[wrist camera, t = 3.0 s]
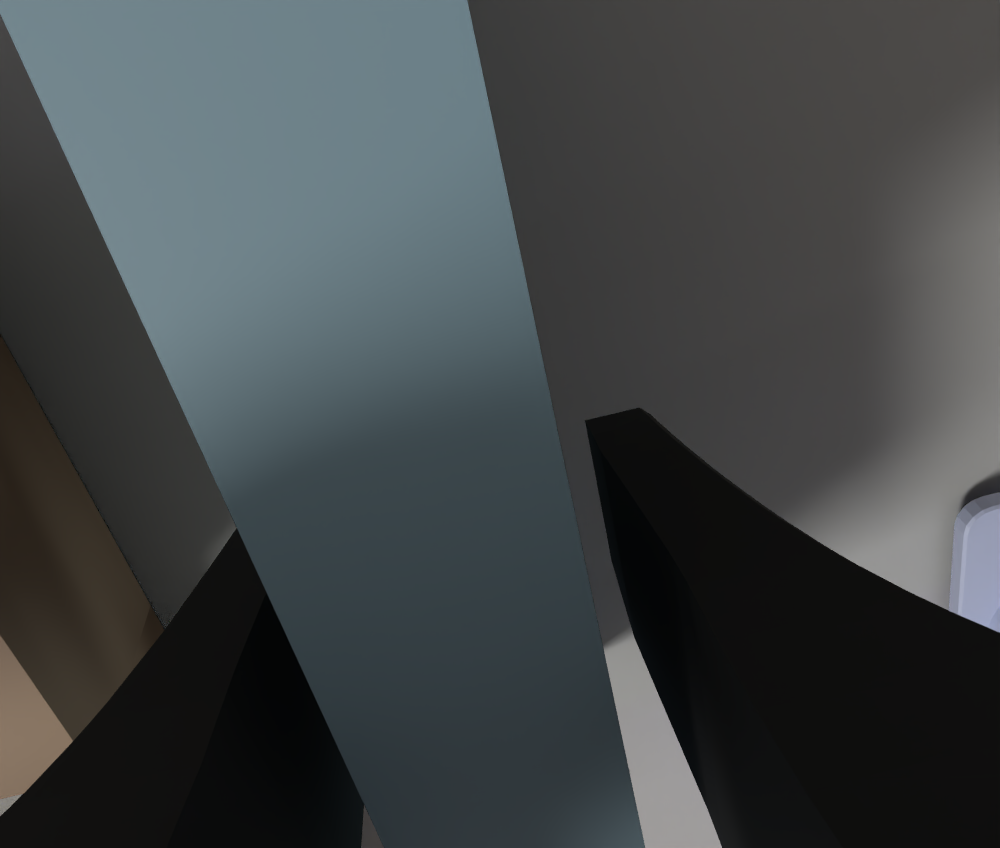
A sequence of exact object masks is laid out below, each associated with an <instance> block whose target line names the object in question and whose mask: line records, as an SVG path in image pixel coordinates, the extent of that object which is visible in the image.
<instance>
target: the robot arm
mask: <svg viewBox="0 0 1000 848" xmlns="http://www.w3.org/2000/svg"><path fill="white" fill-rule="evenodd" d="M585 422H586V428H587V433H588V438H589V443H590V449H591V454H592V459H593V464H594V470H595V475H596V480H597V486H598V491H599V496H600V501H601V507H602V512H603V517H604V522H605V528H606V533H607V538H608V544H609V549H610V554H611V559H612V563H613V567H614V570H615V574H616V577H617V580H618V584H619V587H620V591H621V594H622V597H623V601H624V604H625V607H626V611H627V614H628V617H629V621H630V624H631V627H632V631H633V634H634V637H635V640H636V642H637V645H638V647H639V649H640V652H641V654H642V656H643V659H644V661H645V664H646V666H647V668H648V671H649V673H650V675H651V678H652V680H653V682H654V685H655V687H656V690H657V692H658V694H659V697H660V699H661V701H662V704H663V706H664V708H665V711H666V713H667V715H668V718H669V720H670V722H671V725H672V727H673V729H674V732H675V734H676V736H677V739H678V741H679V743H680V746H681V748H682V750H683V753H684V755H685V757H686V760H687V762H688V764H689V767H690V769H691V771H692V774H693V776H694V778H695V781H696V783H697V785H698V788H699V790H700V792H701V795H702V797H703V799H704V802H705V804H706V806H707V809H708V811H709V814H710V816H711V819H712V822H713V824H714V827H715V830H716V832H717V835H718V838H719V840H720V843H721V845H722V848H1000V492H998V493H994V494H990V495H985V496H982V497H979V498H977V499H974V500H972V501H971V502H969V503H968V504H967V505H965V506H964V507H963V508H962V510H961V511H960V512H959V514H958V515H957V518H956V521H955V525H954V540H953V555H952V571H951V586H950V601H949V611H948V610H946V609H944V608H942V607H940V606H938V605H935V604H933V603H931V602H929V601H927V600H925V599H923V598H920V597H918V596H916V595H914V594H912V593H910V592H908V591H906V590H904V589H902V588H900V587H898V586H897V585H895V584H893V583H891V582H889V581H887V580H885V579H883V578H881V577H879V576H877V575H876V574H874V573H872V572H870V571H868V570H866V569H864V568H862V567H860V566H858V565H857V564H855V563H853V562H851V561H850V560H848V559H846V558H844V557H843V556H841V555H839V554H838V553H836V552H834V551H833V550H831V549H829V548H828V547H826V546H824V545H823V544H821V543H820V542H818V541H816V540H815V539H813V538H812V537H810V536H809V535H807V534H805V533H804V532H802V531H801V530H799V529H798V528H796V527H794V526H793V525H791V524H790V523H788V522H787V521H785V520H784V519H782V518H781V517H779V516H778V515H776V514H775V513H774V512H772V511H771V510H769V509H768V508H766V507H765V506H763V505H762V504H761V503H759V502H758V501H756V500H755V499H754V498H752V497H751V496H750V495H748V494H747V493H746V492H744V491H743V490H742V489H740V488H739V487H737V486H736V485H735V484H733V483H732V482H731V481H729V480H728V479H727V478H725V477H724V476H723V475H721V474H720V473H719V472H717V471H716V470H715V469H714V468H712V467H711V466H710V465H708V464H707V463H706V462H705V461H704V460H702V459H701V458H700V457H699V456H697V455H696V454H695V453H694V452H693V451H691V450H690V449H689V448H688V447H686V446H685V445H684V444H683V443H682V442H681V441H679V440H678V439H677V438H676V437H675V436H674V435H672V434H671V433H670V432H669V431H668V430H667V429H666V428H665V427H663V426H662V425H661V424H660V423H659V422H658V421H657V420H656V419H655V418H654V417H652V416H651V415H650V414H649V413H647V412H646V411H644V410H642V409H641V408H636V409H632V410H628V411H623V412H619V413H615V414H611V415H607V416H602V417H598V418H594V419H590V420H586V421H585ZM363 809H364V803H363V801H362V799H361V796H360V794H359V792H358V790H357V788H356V786H355V783H354V781H353V779H352V777H351V775H350V773H349V770H348V768H347V766H346V764H345V762H344V759H343V757H342V755H341V753H340V751H339V749H338V746H337V744H336V742H335V740H334V738H333V736H332V733H331V731H330V729H329V727H328V725H327V723H326V720H325V718H324V716H323V714H322V712H321V710H320V707H319V705H318V703H317V701H316V699H315V696H314V694H313V692H312V690H311V688H310V686H309V683H308V681H307V679H306V677H305V675H304V673H303V670H302V668H301V666H300V664H299V662H298V660H297V657H296V655H295V653H294V651H293V649H292V647H291V644H290V642H289V640H288V638H287V636H286V634H285V631H284V629H283V627H282V625H281V623H280V620H279V618H278V616H277V614H276V612H275V610H274V607H273V605H272V603H271V601H270V599H269V597H268V594H267V592H266V590H265V588H264V586H263V584H262V581H261V579H260V577H259V575H258V573H257V571H256V568H255V566H254V564H253V562H252V560H251V557H250V555H249V553H248V551H247V549H246V547H245V544H244V542H243V540H242V538H241V536H240V534H239V531H238V529H236V530H235V532H234V533H233V534H232V536H231V537H230V539H229V540H228V542H227V543H226V545H225V546H224V547H223V549H222V550H221V552H220V553H219V555H218V556H217V558H216V559H215V561H214V562H213V563H212V565H211V566H210V568H209V569H208V571H207V572H206V573H205V575H204V576H203V578H202V579H201V580H200V582H199V583H198V585H197V586H196V587H195V589H194V590H193V591H192V593H191V594H190V596H189V597H188V598H187V600H186V601H185V603H184V604H183V605H182V607H181V608H180V610H179V611H178V612H177V614H176V615H175V617H174V618H173V619H172V621H171V622H170V623H169V625H168V626H167V627H166V629H165V630H164V631H163V633H162V634H161V635H160V636H159V638H158V639H157V640H156V641H155V643H154V644H153V645H152V646H151V648H150V649H149V650H148V651H147V653H146V654H145V655H144V657H143V658H142V659H141V660H140V662H139V663H138V664H137V665H136V667H135V668H134V669H133V670H132V672H131V673H130V674H129V675H128V677H127V678H126V679H125V680H124V682H123V683H122V684H121V685H120V687H119V688H118V689H117V690H116V692H115V693H114V694H113V696H112V697H111V698H110V699H109V701H108V702H107V703H106V704H105V705H104V706H103V708H102V709H101V710H100V711H99V712H98V713H97V715H96V716H95V717H94V718H93V719H92V720H91V722H90V723H89V724H88V725H87V726H86V727H85V728H84V729H83V731H82V732H81V733H80V734H79V735H78V736H77V737H76V738H75V740H74V741H73V742H72V743H71V744H70V745H69V746H68V747H67V748H66V749H65V750H64V751H63V753H62V754H61V755H60V756H59V757H58V758H57V759H56V760H55V761H54V762H53V763H52V764H51V765H50V766H49V767H48V768H47V769H46V771H45V772H44V773H43V774H42V775H41V776H40V777H39V778H38V779H37V780H36V781H35V782H34V783H33V784H32V785H31V786H30V787H29V789H28V790H27V791H26V792H25V793H24V794H23V795H22V796H21V797H20V798H19V799H18V800H17V801H16V802H15V803H14V804H13V805H12V806H11V807H10V808H9V809H8V810H7V811H5V812H4V813H3V814H2V815H1V816H0V848H361V840H362V824H363Z"/></svg>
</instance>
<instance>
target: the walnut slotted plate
mask: <svg viewBox="0 0 1000 848" xmlns="http://www.w3.org/2000/svg"><path fill="white" fill-rule="evenodd" d="M163 631H164V628H163V627H162V625H161V623H160V621H159V619H158V618H157V616H156V614H155V612H154V610H153V609H152V607H151V605H150V603H149V601H148V600H147V598H146V596H145V594H144V592H143V591H142V589H141V587H140V585H139V583H138V582H137V580H136V578H135V576H134V574H133V573H132V571H131V569H130V567H129V565H128V564H127V562H126V560H125V558H124V556H123V555H122V553H121V551H120V549H119V547H118V546H117V544H116V542H115V540H114V538H113V537H112V535H111V533H110V531H109V529H108V528H107V526H106V524H105V522H104V520H103V519H102V517H101V515H100V513H99V511H98V510H97V508H96V506H95V504H94V502H93V501H92V499H91V497H90V495H89V493H88V492H87V490H86V488H85V486H84V484H83V483H82V481H81V479H80V477H79V475H78V474H77V472H76V470H75V468H74V466H73V465H72V463H71V461H70V459H69V457H68V456H67V454H66V452H65V450H64V448H63V447H62V445H61V443H60V441H59V439H58V438H57V436H56V434H55V432H54V430H53V429H52V427H51V425H50V423H49V421H48V420H47V418H46V416H45V414H44V412H43V411H42V409H41V407H40V405H39V403H38V402H37V400H36V398H35V396H34V394H33V393H32V391H31V389H30V387H29V385H28V384H27V382H26V380H25V378H24V376H23V375H22V373H21V371H20V369H19V367H18V366H17V364H16V362H15V360H14V358H13V356H12V355H11V353H10V351H9V349H8V347H7V346H6V344H5V342H4V340H3V338H2V337H1V335H0V799H3V798H7V797H11V796H15V795H20V794H24V793H25V792H26V791H27V790H28V789H29V787H30V786H31V785H32V784H33V783H34V782H35V781H36V780H37V779H38V778H39V777H40V776H41V775H42V774H43V773H44V772H45V771H46V769H47V768H48V767H49V766H50V765H51V764H52V763H53V762H54V761H55V760H56V759H57V758H58V757H59V756H60V755H61V754H62V753H63V751H64V750H65V749H66V748H67V747H68V746H69V745H70V744H71V743H72V742H73V741H74V740H75V738H76V737H77V736H78V735H79V734H80V733H81V732H82V731H83V729H84V728H85V727H86V726H87V725H88V724H89V723H90V722H91V720H92V719H93V718H94V717H95V716H96V715H97V713H98V712H99V711H100V710H101V709H102V708H103V706H104V705H105V704H106V703H107V702H108V701H109V699H110V698H111V697H112V696H113V694H114V693H115V692H116V690H117V689H118V688H119V687H120V685H121V684H122V683H123V682H124V680H125V679H126V678H127V677H128V675H129V674H130V673H131V672H132V670H133V669H134V668H135V667H136V665H137V664H138V663H139V662H140V660H141V659H142V658H143V657H144V655H145V654H146V653H147V651H148V650H149V649H150V648H151V646H152V645H153V644H154V643H155V641H156V640H157V639H158V638H159V636H160V635H161V634H162V633H163Z"/></svg>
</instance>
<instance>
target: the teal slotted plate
mask: <svg viewBox="0 0 1000 848" xmlns="http://www.w3.org/2000/svg"><path fill="white" fill-rule="evenodd" d="M0 14H1V17H2V19H3V21H4V23H5V25H6V28H7V30H8V32H9V34H10V36H11V38H12V41H13V43H14V45H15V47H16V49H17V51H18V54H19V56H20V58H21V60H22V62H23V64H24V67H25V69H26V71H27V73H28V75H29V77H30V80H31V82H32V84H33V86H34V88H35V90H36V93H37V95H38V97H39V99H40V101H41V104H42V106H43V108H44V110H45V112H46V114H47V117H48V119H49V121H50V123H51V125H52V127H53V130H54V132H55V134H56V136H57V138H58V140H59V143H60V145H61V147H62V149H63V151H64V153H65V156H66V158H67V160H68V162H69V164H70V167H71V169H72V171H73V173H74V175H75V177H76V180H77V182H78V184H79V186H80V188H81V190H82V193H83V195H84V197H85V199H86V201H87V203H88V206H89V208H90V210H91V212H92V214H93V216H94V219H95V221H96V223H97V225H98V227H99V230H100V232H101V234H102V236H103V238H104V240H105V243H106V245H107V247H108V249H109V251H110V253H111V256H112V258H113V260H114V262H115V264H116V266H117V269H118V271H119V273H120V275H121V277H122V279H123V282H124V284H125V286H126V288H127V290H128V293H129V295H130V297H131V299H132V301H133V303H134V306H135V308H136V310H137V312H138V314H139V316H140V319H141V321H142V323H143V325H144V327H145V329H146V332H147V334H148V336H149V338H150V340H151V342H152V345H153V347H154V349H155V351H156V353H157V355H158V358H159V360H160V362H161V364H162V366H163V369H164V371H165V373H166V375H167V377H168V379H169V382H170V384H171V386H172V388H173V390H174V392H175V395H176V397H177V399H178V401H179V403H180V405H181V408H182V410H183V412H184V414H185V416H186V418H187V421H188V423H189V425H190V427H191V429H192V432H193V434H194V436H195V438H196V440H197V442H198V445H199V447H200V449H201V451H202V453H203V455H204V458H205V460H206V462H207V464H208V466H209V468H210V471H211V473H212V475H213V477H214V479H215V481H216V484H217V486H218V488H219V490H220V492H221V494H222V497H223V499H224V501H225V503H226V505H227V508H228V510H229V512H230V514H231V516H232V518H233V521H234V523H235V525H236V527H237V529H238V531H239V534H240V536H241V538H242V540H243V542H244V544H245V547H246V549H247V551H248V553H249V555H250V557H251V560H252V562H253V564H254V566H255V568H256V571H257V573H258V575H259V577H260V579H261V581H262V584H263V586H264V588H265V590H266V592H267V594H268V597H269V599H270V601H271V603H272V605H273V607H274V610H275V612H276V614H277V616H278V618H279V620H280V623H281V625H282V627H283V629H284V631H285V634H286V636H287V638H288V640H289V642H290V644H291V647H292V649H293V651H294V653H295V655H296V657H297V660H298V662H299V664H300V666H301V668H302V670H303V673H304V675H305V677H306V679H307V681H308V683H309V686H310V688H311V690H312V692H313V694H314V696H315V699H316V701H317V703H318V705H319V707H320V710H321V712H322V714H323V716H324V718H325V720H326V723H327V725H328V727H329V729H330V731H331V733H332V736H333V738H334V740H335V742H336V744H337V746H338V749H339V751H340V753H341V755H342V757H343V759H344V762H345V764H346V766H347V768H348V770H349V773H350V775H351V777H352V779H353V781H354V783H355V786H356V788H357V790H358V792H359V794H360V796H361V799H362V801H363V803H364V805H365V807H366V809H367V812H368V814H369V816H370V818H371V820H372V822H373V825H374V827H375V829H376V831H377V833H378V836H379V838H380V840H381V842H382V844H383V846H384V848H645V845H644V840H643V835H642V830H641V826H640V821H639V816H638V811H637V807H636V802H635V797H634V792H633V788H632V783H631V778H630V773H629V768H628V764H627V759H626V754H625V749H624V745H623V740H622V735H621V730H620V726H619V721H618V716H617V711H616V707H615V702H614V697H613V692H612V687H611V683H610V678H609V673H608V668H607V664H606V659H605V654H604V649H603V645H602V640H601V635H600V630H599V626H598V621H597V616H596V611H595V606H594V602H593V597H592V592H591V587H590V583H589V578H588V573H587V568H586V564H585V559H584V554H583V549H582V545H581V540H580V535H579V530H578V525H577V521H576V516H575V511H574V506H573V502H572V497H571V492H570V487H569V483H568V478H567V473H566V468H565V464H564V459H563V454H562V449H561V444H560V440H559V435H558V430H557V425H556V421H555V416H554V411H553V406H552V402H551V397H550V392H549V387H548V383H547V378H546V373H545V368H544V363H543V359H542V354H541V349H540V344H539V340H538V335H537V330H536V325H535V321H534V316H533V311H532V306H531V302H530V297H529V292H528V287H527V282H526V278H525V273H524V268H523V263H522V259H521V254H520V249H519V244H518V240H517V235H516V230H515V225H514V221H513V216H512V211H511V206H510V201H509V197H508V192H507V187H506V182H505V178H504V173H503V168H502V163H501V159H500V154H499V149H498V144H497V140H496V135H495V130H494V125H493V120H492V116H491V111H490V106H489V101H488V97H487V92H486V87H485V82H484V78H483V73H482V68H481V63H480V59H479V54H478V49H477V44H476V39H475V35H474V30H473V25H472V20H471V16H470V11H469V6H468V1H467V0H0Z"/></svg>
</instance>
